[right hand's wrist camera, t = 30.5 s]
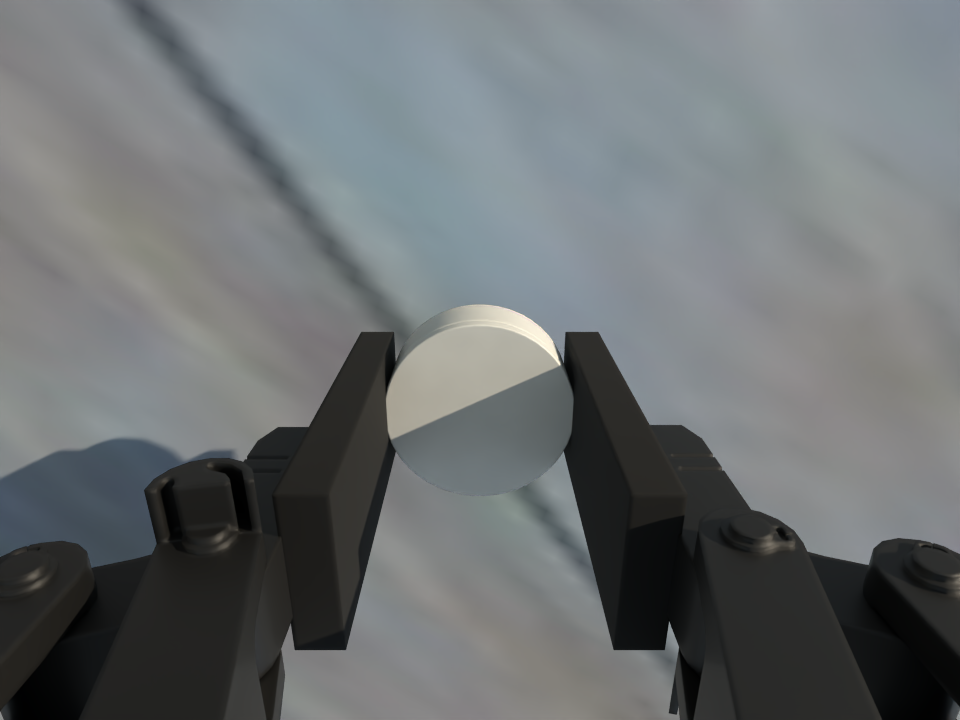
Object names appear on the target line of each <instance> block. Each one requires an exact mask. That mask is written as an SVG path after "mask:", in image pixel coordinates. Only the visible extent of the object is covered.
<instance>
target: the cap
mask: <svg viewBox="0 0 960 720" xmlns="http://www.w3.org/2000/svg"><path fill="white" fill-rule="evenodd" d="M573 401H574V395H573V390H572V386H571V384H570V381H569V378H568V375H567V372H566V369H565V366H564V363H563V360H562V358H561V355H560V353H559V351H558V349H557V347H556V345H555V344H554V342H553V341H552V340H551V338H550V337H549V336H548V334H547V333H546V332H545V331H544V330H543V329H542V328H541V327H540V326H538V325H537V324H536V323H534V322H533V321H532V320H530V319H529V318H527V317H525V316H523V315H522V314H520V313H517V312H515V311H512V310H510V309H506V308H503V307H499V306H492V305H467V306H461V307H457V308H453V309H450V310H447V311H444V312H442V313H440V314H438V315H436V316H434V317H432V318H430V319H429V320H428V321H426V322H425V323H423V324H422V325H421V326H420V327H419V328H418V329H417V330H416V331H415V332H413V334H412V335H411V336H410V337H409V339H408V340H407V341H406V343H405V344H404V346H403V348H402V349H401V351H400V354H399V356H398V358H397V361H396V364H395V367H394V369H393V372H392V375H391V378H390V381H389V384H388V387H387V391H386V408H387V424H388V435H389V438H390V441H391V443H392V445H393V447H394V449H395V451H396V452H397V454H398V455H399V456H400V458H401V459H402V461H403V462H404V463H405V464H406V465H407V466H408V467H409V468H410V469H411V470H412V471H413V472H414V473H415V474H417V475H418V476H419V477H421V478H422V479H424V480H425V481H427V482H428V483H430V484H432V485H434V486H436V487H438V488H441V489H444V490H446V491H449V492H453V493H457V494H462V495H470V496H488V495H497V494H502V493H507V492H510V491H513V490H516V489H519V488H521V487H523V486H525V485H527V484H529V483H531V482H532V481H534V480H536V479H537V478H539V477H540V476H541V475H543V474H544V473H545V472H546V471H548V469H549V468H550V467H551V466H552V465H553V464H554V463H555V462H556V461H557V460H558V458H559V457H560V455H561V454H562V453H563V451H564V449H565V447H566V445H567V444H568V441H569V439H570V436H571V432H572V418H573Z"/></svg>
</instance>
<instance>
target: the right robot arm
mask: <svg viewBox="0 0 960 720" xmlns="http://www.w3.org/2000/svg"><path fill="white" fill-rule="evenodd" d="M395 364H396V360H395V342H394V332H361V334H360V335H359V337H358V339H357V341H356V343H355V344H354V346H353V348H352V350H351V352H350V354H349V355H348V357H347V359H346V361H345V363H344V364H343V366H342V368H341V370H340V372H339V373H338V375H337V377H336V379H335V381H334V382H333V384H332V386H331V388H330V390H329V392H328V393H327V395H326V397H325V399H324V401H323V402H322V404H321V406H320V408H319V410H318V411H317V413H316V415H315V417H314V419H313V420H312V422H311V424H310V426H309V427H278V428H276V429H275V430H273V431H272V432H270V433H269V434H267V435H266V436H264V437H263V438H261V439H260V440H258V441H257V443H256V444H255V446H254V447H253V449H252V450H251V452H250V453H249V454H248V456H247V459H245V460H244V462H242V461H238V460H234V459H230V458H209V459H204V460H198V461H193V462H189V463H186V464H183V465H180V466H178V467H175V468H172V469H170V470H168V471H167V472H165V473H163V474H162V475H160V476H158V477H157V478H155V479H154V480H153V481H152V482H151V483H150V484H149V485H148V486H147V488H146V489H145V490H144V492H145V496H146V500H147V504H148V509H149V513H150V517H151V521H152V525H153V529H154V534H155V538H156V542H157V545H156V547H155V549H154V551H153V554H152V555H148V556H144V557H141V558H137V559H133V560H128V561H123V562H118V563H113V564H108V565H103V566H99V567H94V568H91V564H90V561H89V558H88V554H87V551H86V550H84V549H83V548H82V547H81V546H80V545H78V544H75V543H70V542H64V541H56V542H46V543H38V544H34V545H30V546H28V547H27V546H25V547H22V548H19V549H16V550H14V551H12V552H11V553H8V554H6V555H4V556H2V557H0V711H1V714H2V716H3V719H4V720H280V716H281V707H282V698H283V689H284V679H285V671H284V664H283V658H282V652H281V647H282V645H283V642H284V639H285V637H286V634H287V631H288V629H289V626H290V623H291V627H292V634H293V641H294V647H295V650H346V647H347V644H348V640H349V636H350V632H351V628H352V624H353V620H354V616H355V612H356V608H357V604H358V600H359V596H360V592H361V588H362V584H363V580H364V576H365V572H366V568H367V564H368V560H369V556H370V552H371V548H372V544H373V540H374V536H375V532H376V528H377V524H378V520H379V516H380V512H381V508H382V504H383V500H384V496H385V492H386V488H387V484H388V480H389V476H390V472H391V468H392V464H393V460H394V456H395V452H396V451H395V449H394V447H393V445H392V443H391V441H390V438H389V435H388V424H387V408H386V391H387V387H388V384H389V381H390V378H391V375H392V372H393V369H394V367H395ZM564 366H565V369H566V372H567V375H568V378H569V381H570V384H571V386H572V390H573V395H574V401H573V418H572V432H571V436H570V439H569V441H568V444H567V445H566V447H565V449H564V454H565V458H566V462H567V466H568V470H569V474H570V478H571V482H572V486H573V490H574V494H575V498H576V502H577V506H578V510H579V514H580V518H581V522H582V526H583V530H584V534H585V538H586V542H587V546H588V550H589V554H590V557H591V561H592V565H593V569H594V573H595V577H596V581H597V585H598V589H599V593H600V597H601V601H602V605H603V609H604V613H605V617H606V621H607V625H608V629H609V633H610V637H611V641H612V645H613V649H614V650H665V645H666V638H667V631H668V625H669V621H670V624H671V627H672V629H673V632H674V635H675V637H676V640H677V643H678V645H679V652H678V658H677V664H676V670H675V677H674V683H673V689H672V695H671V702H670V709H669V713H671V714H676V715H677V711H678V706H679V715H680V720H957V719H956V717H957V715H958V712H959V710H960V554H958V553H956V552H954V551H952V550H950V549H948V548H946V547H944V546H941V545H938V544H935V543H934V544H932V543H931V542H926V541H921V540H912V539H902V538H897V539H892V540H886V541H882V542H881V543H880V544H879V545H877V546H876V547H875V548H874V549H873V552H872V556H871V559H870V563H869V565H865V564H860V563H855V562H850V561H845V560H840V559H835V558H830V557H826V556H822V555H818V554H814V553H810V552H807V550H806V548H805V546H804V543H803V542H802V541H801V539H800V538H799V537H798V535H797V534H796V533H795V531H794V530H792V529H791V528H790V527H788V526H787V525H785V524H784V523H783V522H781V521H780V520H778V519H776V518H773V517H771V516H769V515H766V514H764V513H762V512H758V511H754V510H751V509H750V507H749V506H748V505H747V503H746V502H745V500H744V499H743V497H742V496H741V494H740V493H739V492H738V490H737V489H736V487H735V486H734V484H733V483H732V481H731V480H730V479H729V477H728V476H727V474H726V473H725V471H722V467H721V466H720V464H719V463H718V461H717V460H716V458H715V457H713V454H712V453H711V451H710V450H709V448H708V447H707V445H706V444H705V442H704V441H703V440H702V438H700V437H699V436H697V435H696V434H694V433H693V432H691V431H690V430H688V429H687V428H685V427H684V426H682V425H649V423H648V421H647V419H646V418H645V416H644V414H643V412H642V410H641V409H640V407H639V405H638V403H637V401H636V400H635V398H634V396H633V394H632V392H631V390H630V389H629V387H628V385H627V383H626V381H625V380H624V378H623V376H622V374H621V372H620V371H619V369H618V367H617V365H616V363H615V361H614V360H613V358H612V356H611V354H610V352H609V351H608V349H607V347H606V345H605V343H604V342H603V340H602V338H601V336H600V334H599V333H598V332H566V334H565V352H564Z"/></svg>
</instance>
